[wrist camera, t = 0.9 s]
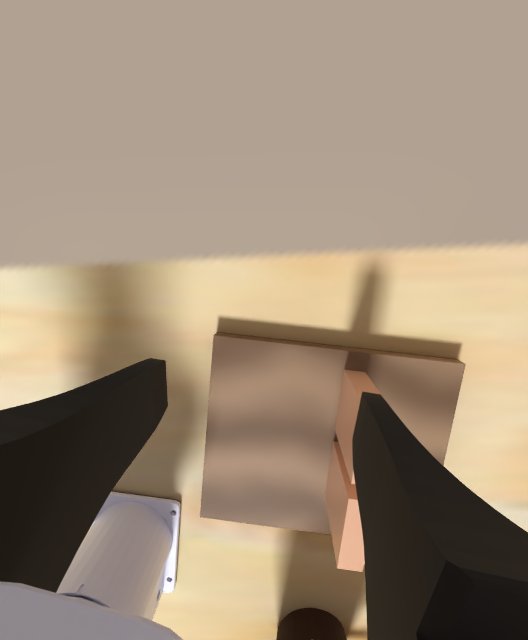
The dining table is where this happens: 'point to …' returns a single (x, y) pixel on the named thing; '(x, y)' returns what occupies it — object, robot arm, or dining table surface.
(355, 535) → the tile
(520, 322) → the dining table surface
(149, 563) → the robot arm
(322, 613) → the coffee mug
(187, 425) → the dining table surface
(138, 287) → the dining table surface
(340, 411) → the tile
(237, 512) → the board
